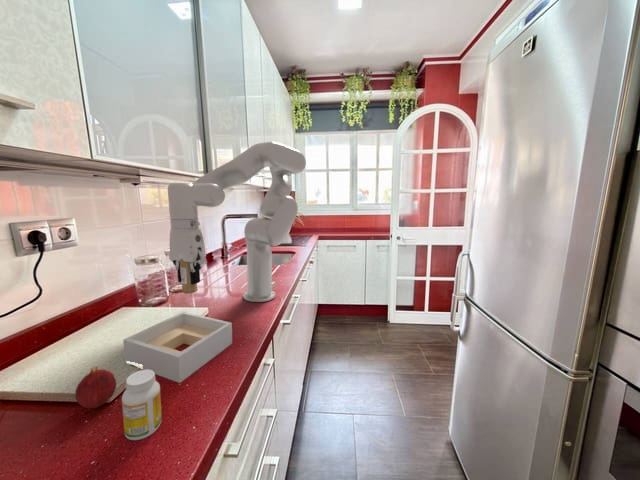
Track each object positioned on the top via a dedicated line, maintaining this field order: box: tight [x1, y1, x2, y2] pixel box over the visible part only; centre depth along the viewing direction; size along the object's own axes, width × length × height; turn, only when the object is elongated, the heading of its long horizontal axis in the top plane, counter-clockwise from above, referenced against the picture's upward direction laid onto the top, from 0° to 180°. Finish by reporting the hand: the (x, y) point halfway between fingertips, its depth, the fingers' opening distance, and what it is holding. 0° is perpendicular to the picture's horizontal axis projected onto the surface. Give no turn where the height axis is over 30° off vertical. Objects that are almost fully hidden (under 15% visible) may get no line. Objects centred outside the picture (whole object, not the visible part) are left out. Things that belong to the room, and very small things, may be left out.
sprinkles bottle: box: [180, 255, 198, 295], centre depth 83 cm, size 5×5×14 cm
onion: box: [75, 365, 117, 409], centre depth 49 cm, size 6×6×8 cm
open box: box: [122, 311, 233, 384], centre depth 67 cm, size 17×17×6 cm
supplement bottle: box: [121, 369, 163, 441], centre depth 45 cm, size 5×5×10 cm
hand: (189, 281), depth 83 cm, fingers closed on sprinkles bottle, 4 cm apart
